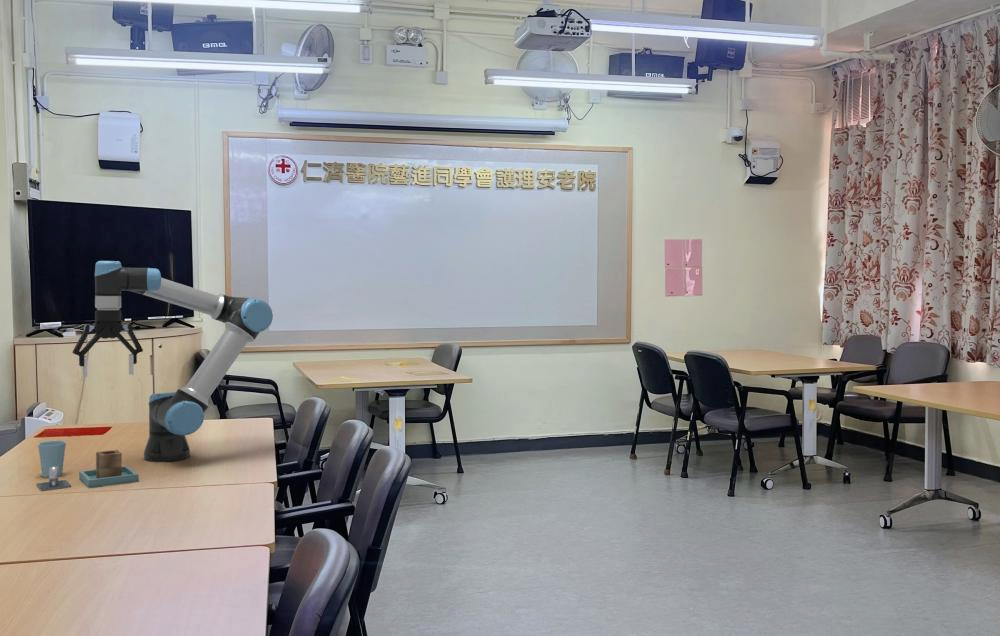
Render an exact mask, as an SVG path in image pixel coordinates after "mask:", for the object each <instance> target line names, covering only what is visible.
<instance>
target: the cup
mask: <svg viewBox="0 0 1000 636" xmlns="http://www.w3.org/2000/svg"><path fill="white" fill-rule="evenodd" d="M66 444H67V442H66V441H65V440H64V441H63V440H49V441H43V442H39V443H38V444H37V446H38V452H39V460H40V467H41V468H40V469H41V475H42V477H43V478H49V467H53V466H58V477H61V476H63V470H64V460H65V451H66V446H67V445H66Z"/></svg>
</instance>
